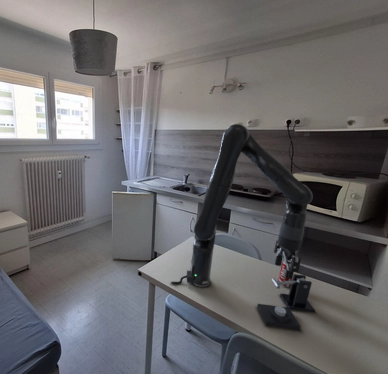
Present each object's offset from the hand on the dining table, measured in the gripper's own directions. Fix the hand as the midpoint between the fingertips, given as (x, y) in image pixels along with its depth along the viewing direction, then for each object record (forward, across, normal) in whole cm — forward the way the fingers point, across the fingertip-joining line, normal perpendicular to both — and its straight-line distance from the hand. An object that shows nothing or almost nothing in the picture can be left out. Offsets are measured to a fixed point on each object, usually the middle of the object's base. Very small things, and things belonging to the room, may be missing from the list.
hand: (282, 271), depth 90 cm
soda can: (+17, -16, +11) cm, 26 cm away
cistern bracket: (+17, -3, +10) cm, 20 cm away
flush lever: (+8, -3, +6) cm, 11 cm away
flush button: (+14, +8, -2) cm, 16 cm away
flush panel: (+17, +7, -2) cm, 19 cm away
